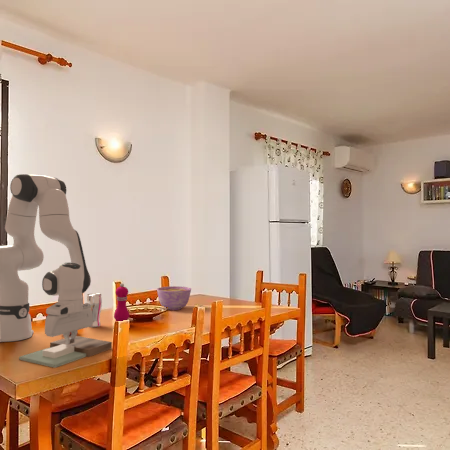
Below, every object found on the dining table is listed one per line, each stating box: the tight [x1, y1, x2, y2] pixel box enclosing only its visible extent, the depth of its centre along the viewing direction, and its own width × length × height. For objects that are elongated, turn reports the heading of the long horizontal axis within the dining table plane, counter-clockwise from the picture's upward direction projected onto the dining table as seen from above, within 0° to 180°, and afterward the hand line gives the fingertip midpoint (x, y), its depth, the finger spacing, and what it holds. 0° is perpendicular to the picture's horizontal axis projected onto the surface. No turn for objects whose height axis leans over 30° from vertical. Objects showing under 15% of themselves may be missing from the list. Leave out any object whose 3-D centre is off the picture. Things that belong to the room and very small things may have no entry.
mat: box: [18, 346, 87, 369], centre depth 150 cm, size 18×14×1 cm
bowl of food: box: [156, 285, 192, 311], centre depth 242 cm, size 20×20×12 cm
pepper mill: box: [113, 282, 130, 323], centre depth 201 cm, size 7×7×20 cm
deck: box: [49, 335, 113, 358], centre depth 161 cm, size 20×12×2 cm, turn 63°
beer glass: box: [86, 292, 103, 328], centre depth 198 cm, size 7×7×15 cm
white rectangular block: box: [42, 344, 74, 358], centre depth 151 cm, size 6×9×2 cm, turn 153°
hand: (70, 343), depth 156 cm, fingers closed
